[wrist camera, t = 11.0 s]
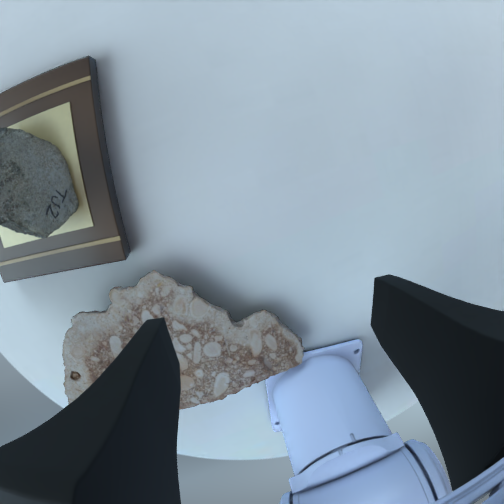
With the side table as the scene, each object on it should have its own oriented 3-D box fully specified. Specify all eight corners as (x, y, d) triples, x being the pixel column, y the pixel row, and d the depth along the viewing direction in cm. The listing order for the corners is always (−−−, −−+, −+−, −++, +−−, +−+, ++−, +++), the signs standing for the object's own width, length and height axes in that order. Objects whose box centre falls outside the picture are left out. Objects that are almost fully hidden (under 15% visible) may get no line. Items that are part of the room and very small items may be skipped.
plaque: (130, 252, 18) (126, 261, 17) (11, 275, 17) (2, 284, 16) (95, 59, 14) (88, 54, 12) (-27, 114, 13) (-38, 114, 12)
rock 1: (80, 217, 18) (81, 255, 14) (-21, 229, 14) (-44, 270, 10) (80, 116, 15) (77, 124, 11) (-30, 130, 11) (-64, 145, 7)
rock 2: (85, 438, 18) (7, 330, 14) (89, 404, 21) (26, 302, 17) (313, 369, 21) (288, 237, 17) (292, 341, 24) (266, 221, 21)
